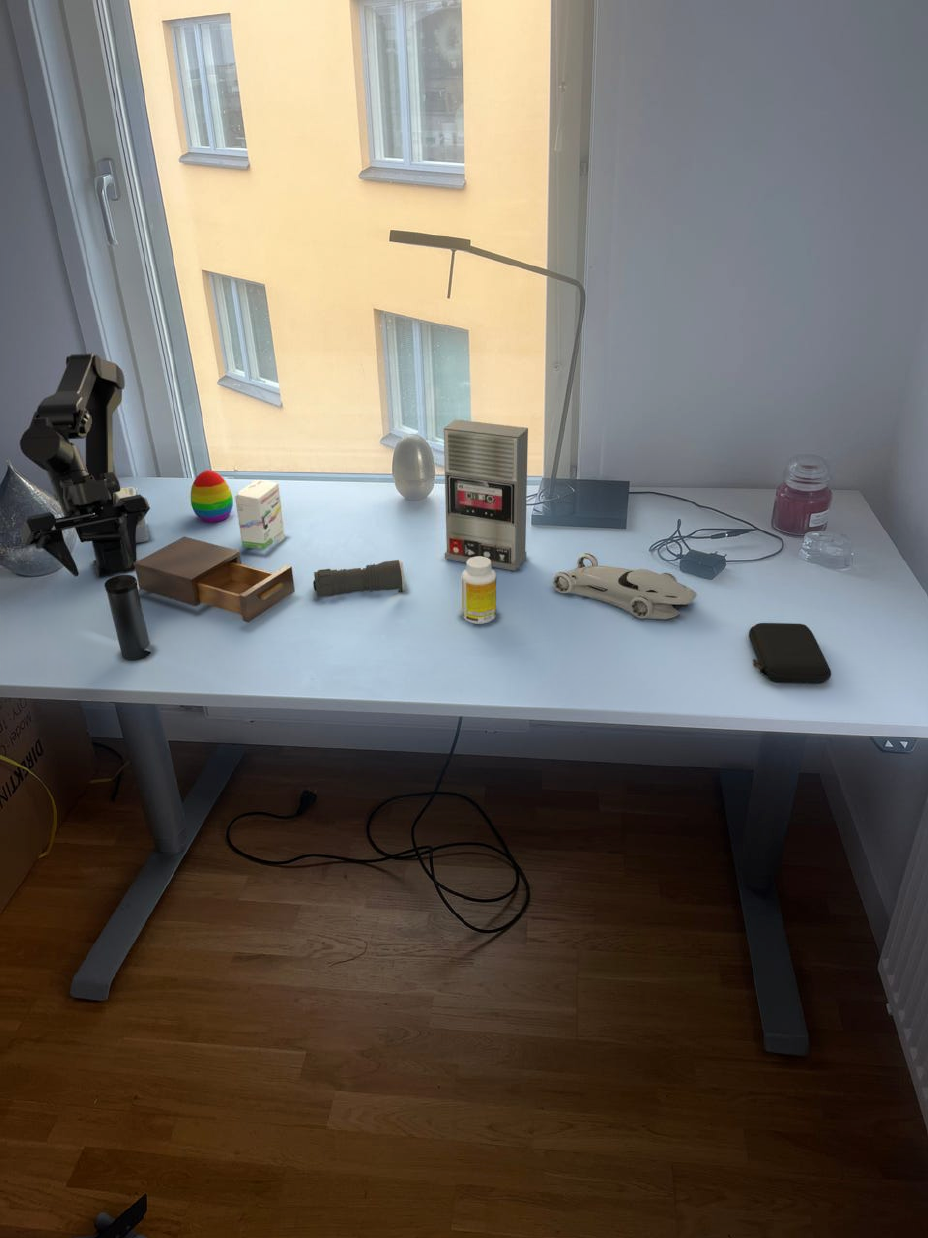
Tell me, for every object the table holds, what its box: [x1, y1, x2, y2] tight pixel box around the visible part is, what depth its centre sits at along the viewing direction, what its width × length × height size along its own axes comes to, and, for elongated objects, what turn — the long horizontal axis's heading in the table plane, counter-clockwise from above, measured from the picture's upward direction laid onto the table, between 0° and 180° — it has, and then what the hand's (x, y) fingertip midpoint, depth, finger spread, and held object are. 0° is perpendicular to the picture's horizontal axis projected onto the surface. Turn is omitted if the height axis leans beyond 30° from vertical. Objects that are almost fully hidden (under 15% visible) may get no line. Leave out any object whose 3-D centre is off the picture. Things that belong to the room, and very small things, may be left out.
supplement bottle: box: [461, 556, 497, 625], centre depth 152 cm, size 6×6×10 cm
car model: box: [552, 552, 698, 620], centre depth 158 cm, size 11×24×5 cm, turn 55°
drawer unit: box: [134, 536, 243, 607], centre depth 162 cm, size 13×12×6 cm
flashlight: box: [312, 559, 406, 598], centre depth 160 cm, size 15×5×5 cm, turn 102°
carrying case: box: [748, 622, 832, 685], centre depth 141 cm, size 11×3×15 cm
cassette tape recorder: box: [443, 419, 529, 572], centre depth 166 cm, size 14×6×25 cm, turn 68°
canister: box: [103, 574, 152, 662], centre depth 143 cm, size 5×5×13 cm
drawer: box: [196, 561, 296, 623], centre depth 157 cm, size 14×12×6 cm
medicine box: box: [116, 486, 149, 544], centre depth 182 cm, size 8×4×9 cm, turn 23°
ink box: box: [234, 479, 286, 550], centre depth 176 cm, size 8×5×12 cm, turn 163°
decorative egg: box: [190, 469, 234, 523], centre depth 188 cm, size 8×8×10 cm
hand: (106, 568), depth 146 cm, fingers open, 9 cm apart
